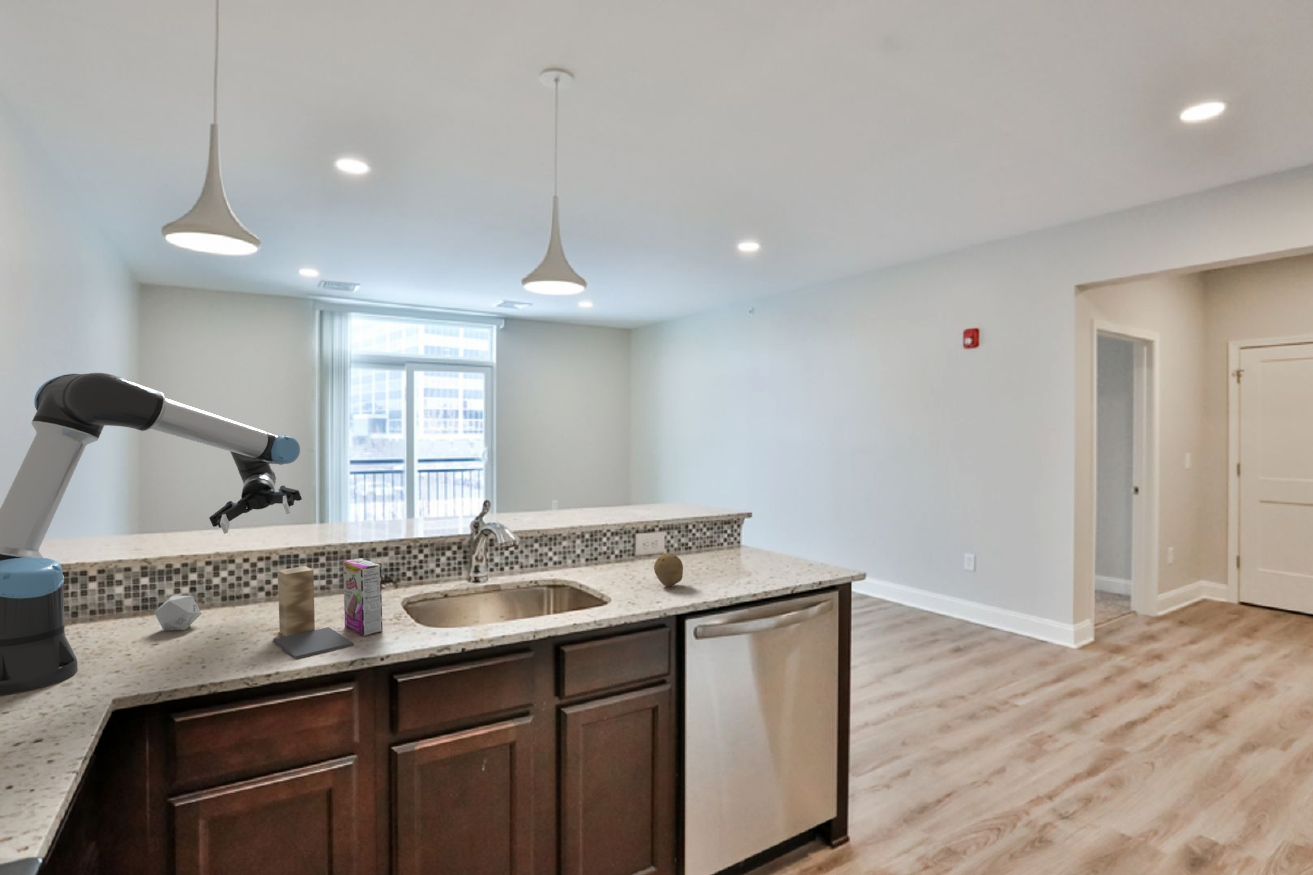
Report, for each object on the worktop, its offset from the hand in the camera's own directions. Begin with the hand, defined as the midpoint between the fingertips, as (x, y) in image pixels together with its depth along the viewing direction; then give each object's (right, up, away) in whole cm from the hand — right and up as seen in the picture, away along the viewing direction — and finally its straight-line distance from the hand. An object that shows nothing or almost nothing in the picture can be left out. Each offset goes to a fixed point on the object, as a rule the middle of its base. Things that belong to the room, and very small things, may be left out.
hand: (255, 518), depth 159 cm
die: (-20, -28, +2) cm, 34 cm away
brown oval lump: (+101, -26, +39) cm, 111 cm away
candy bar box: (+26, -27, 0) cm, 37 cm away
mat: (+19, -27, -9) cm, 34 cm away
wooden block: (+11, -27, -1) cm, 29 cm away
